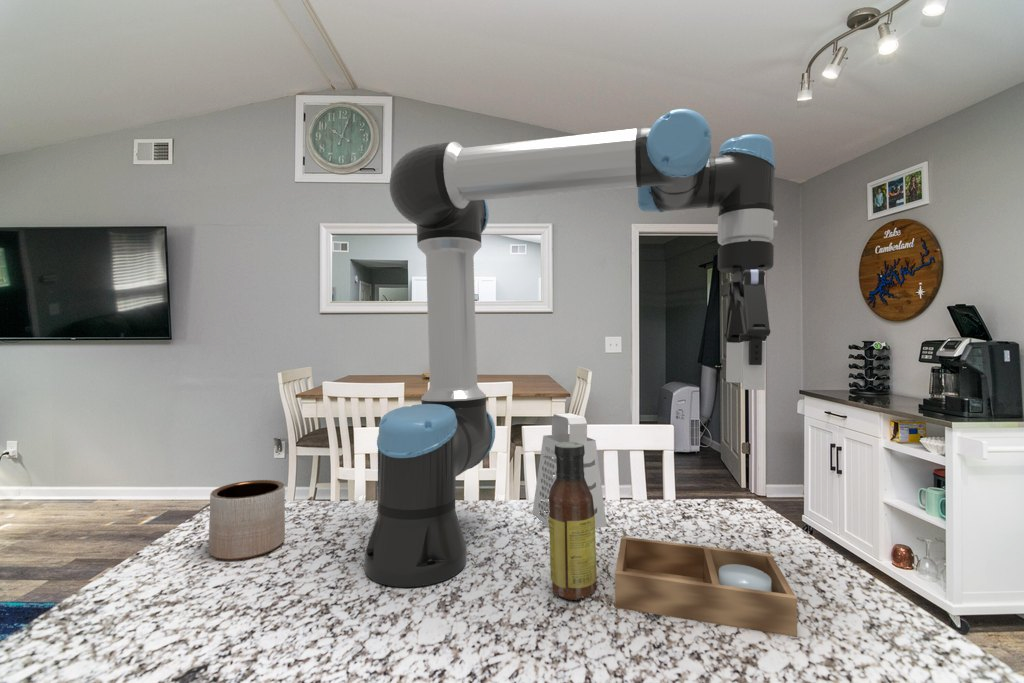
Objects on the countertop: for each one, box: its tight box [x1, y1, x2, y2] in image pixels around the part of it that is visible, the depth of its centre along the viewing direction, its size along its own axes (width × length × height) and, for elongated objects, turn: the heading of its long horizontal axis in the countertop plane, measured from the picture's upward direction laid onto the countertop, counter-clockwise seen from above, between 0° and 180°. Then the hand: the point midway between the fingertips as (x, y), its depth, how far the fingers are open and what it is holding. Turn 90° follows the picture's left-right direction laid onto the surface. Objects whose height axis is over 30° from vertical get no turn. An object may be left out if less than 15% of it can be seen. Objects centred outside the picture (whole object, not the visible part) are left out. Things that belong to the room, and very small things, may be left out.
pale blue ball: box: [719, 564, 771, 592], centre depth 60 cm, size 6×6×4 cm
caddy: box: [614, 536, 798, 638], centre depth 62 cm, size 20×12×5 cm, turn 73°
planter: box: [208, 479, 286, 561], centre depth 78 cm, size 11×11×10 cm
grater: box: [531, 412, 608, 529], centre depth 91 cm, size 10×10×20 cm
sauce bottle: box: [548, 442, 598, 601], centre depth 65 cm, size 7×6×20 cm
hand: (743, 386), depth 71 cm, fingers open, 13 cm apart
